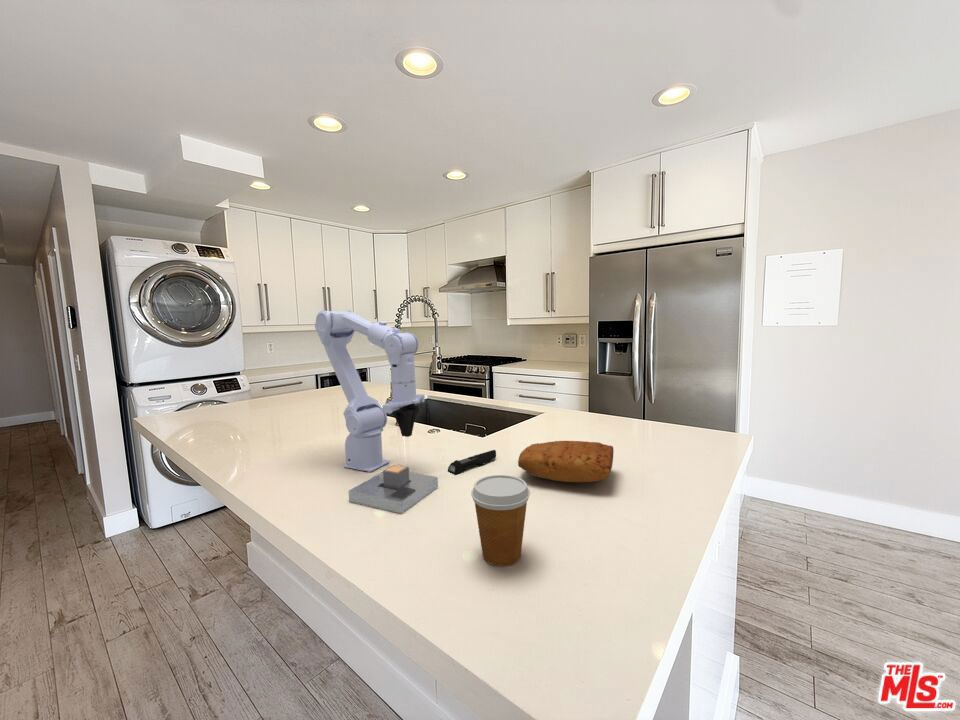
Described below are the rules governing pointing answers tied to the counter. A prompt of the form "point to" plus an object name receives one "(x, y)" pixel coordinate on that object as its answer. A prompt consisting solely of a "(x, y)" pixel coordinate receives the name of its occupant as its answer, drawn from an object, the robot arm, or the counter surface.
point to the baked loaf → (568, 461)
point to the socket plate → (393, 492)
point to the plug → (396, 477)
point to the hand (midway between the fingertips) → (406, 435)
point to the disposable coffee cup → (501, 517)
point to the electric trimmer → (471, 462)
